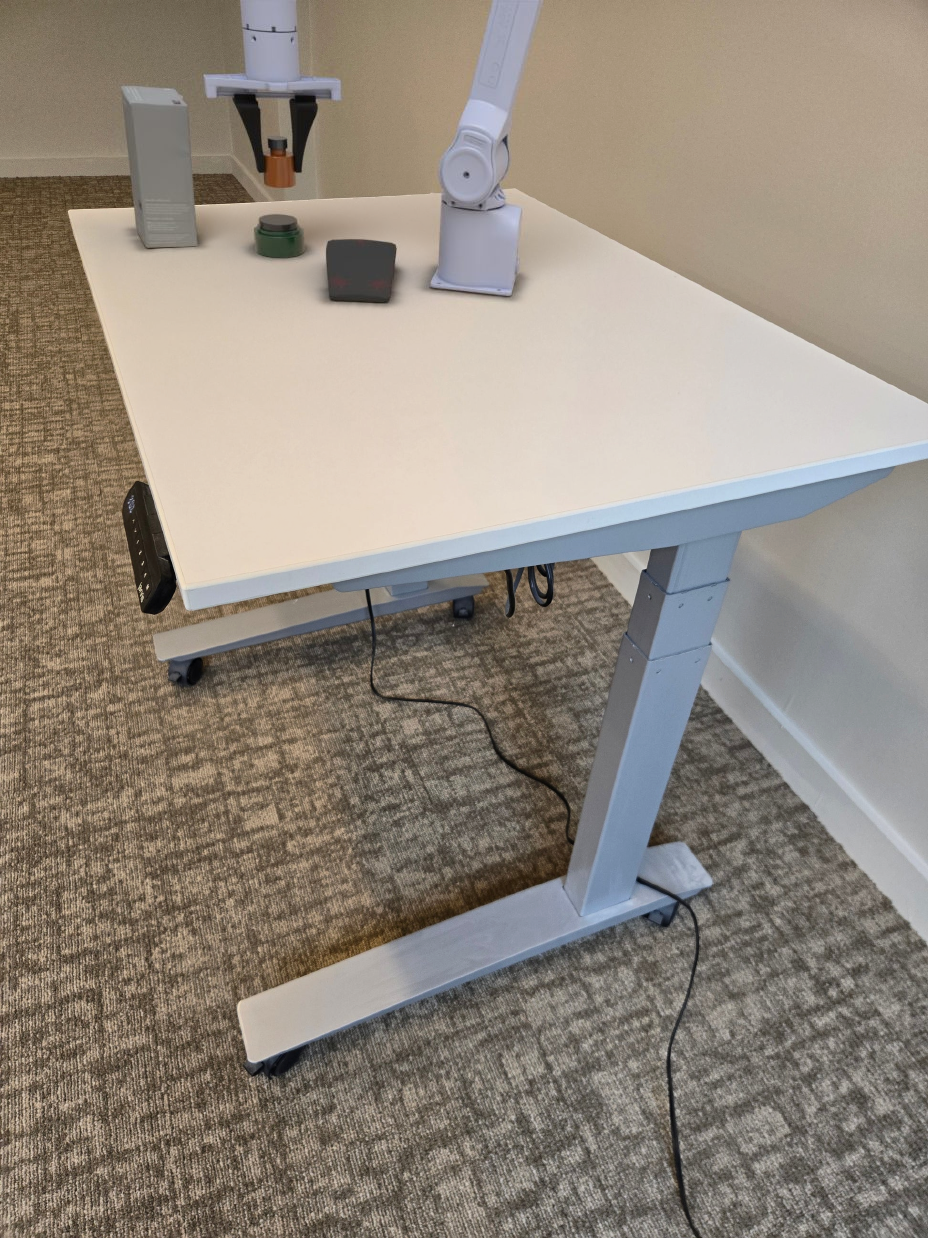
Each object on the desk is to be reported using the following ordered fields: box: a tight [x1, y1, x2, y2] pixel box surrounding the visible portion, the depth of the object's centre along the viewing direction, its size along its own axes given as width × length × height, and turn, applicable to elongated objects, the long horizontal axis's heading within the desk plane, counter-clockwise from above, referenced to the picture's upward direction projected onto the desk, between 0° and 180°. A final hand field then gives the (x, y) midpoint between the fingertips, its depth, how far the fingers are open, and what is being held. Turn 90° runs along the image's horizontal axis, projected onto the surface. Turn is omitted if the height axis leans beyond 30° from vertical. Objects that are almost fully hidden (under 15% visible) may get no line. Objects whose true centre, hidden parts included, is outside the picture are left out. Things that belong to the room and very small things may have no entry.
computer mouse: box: [325, 238, 398, 303], centre depth 99 cm, size 8×14×4 cm, turn 3°
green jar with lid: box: [253, 213, 306, 259], centre depth 106 cm, size 6×6×4 cm
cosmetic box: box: [120, 85, 199, 249], centre depth 103 cm, size 8×7×16 cm
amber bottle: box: [263, 135, 297, 189], centre depth 99 cm, size 4×4×5 cm
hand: (278, 170), depth 100 cm, fingers closed on amber bottle, 3 cm apart
